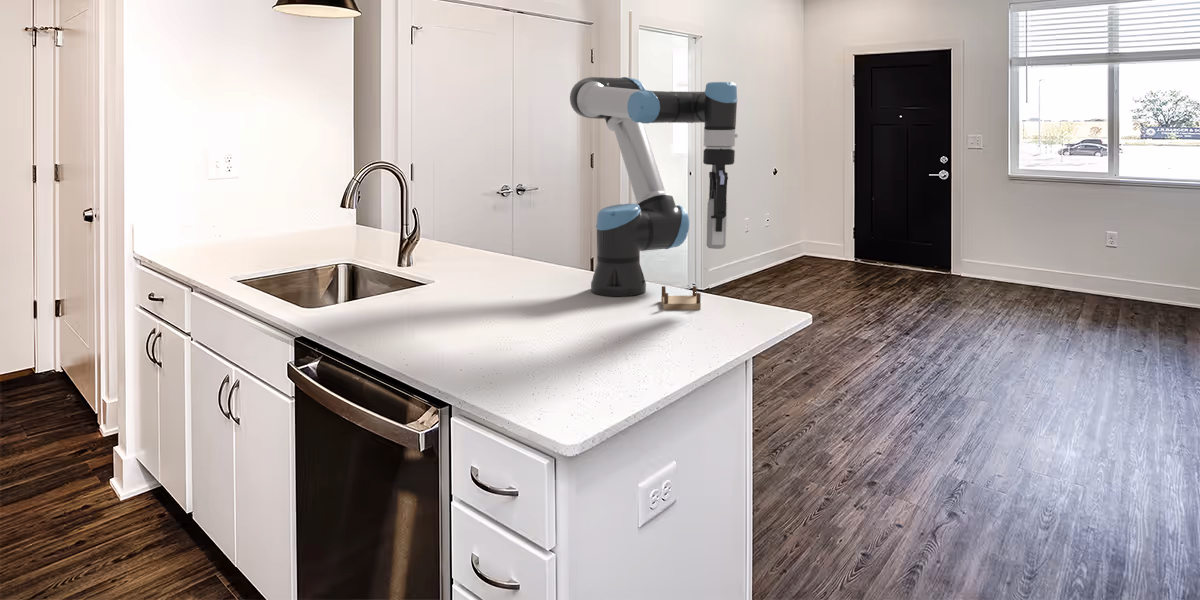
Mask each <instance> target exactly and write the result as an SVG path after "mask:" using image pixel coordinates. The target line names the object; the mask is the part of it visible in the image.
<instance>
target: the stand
mask: <svg viewBox="0 0 1200 600" xmlns="http://www.w3.org/2000/svg"><path fill="white" fill-rule="evenodd" d="M666 287H667V286H665V285H663V286H661V297H660V299H661V300H660V301H661V304H662V307H663V310H666V311H667V310H670V311H671V310H672V311H673V310H674V311H675V310H676V311H677V310H681V311H682V310H686V311H688V310H689V311H691V310H701V295H702V294H701V292H697V291H698V290H697V289H698V287H697V286H696V285H693V286H692V295H669V293H668V292H666V290H667V289H666ZM695 292H696V293H695Z"/></svg>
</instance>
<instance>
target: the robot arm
mask: <svg viewBox="0 0 1200 600" xmlns="http://www.w3.org/2000/svg"><path fill="white" fill-rule="evenodd" d="M737 87H738V86H737V84H736V83H735V82H731V81H713V82H712V81H710V82H707V83H706V85H705V89H704V91H692V90H691V91H671V90H670V91H663V90H661V91H660V90H648V89H647V88H646V87H645V85H644V84H643V82H642V81H640V80H639V79H636V78H632V77H631V78H630V77H628V76H627V77H626V76H625V77H602V76H601V77H597V76H590V77H586V78H582V79H580V80H579V81H577V82H576V83H575V84H574V85H573V86H572V88H571V91H570V94H569V102H570V103H569V104H570V106H571V108H572V109H573V111H574V112H575V114H577V115H579V116H581V117H583V118H586V119H596V120H597V119H599V120H600V119H601V120H602V119H604V120H605V122H606V126H607V129H609V130H610V131H613V132H614V134H615V137H616V141H617V144H618V147H619V149H620V153H621V156H622V160H623V162H624V165H625V170H626V173H627V176H628V178H629V182H630V185H631V189H632V192H633V195H634V198H635V201H636V203H621V204H614V205H609V206H606V207H603V208H601V209H600V210H598V213H597V215H596V225H595V227H596V255H597V256H596V267H595V269H594V273H593V274H592V279H591V282H590V292H591V293H594V294H596V295H599V296H605V297H606V296H607V297H608V296H609V297H628V296H630V297H631V296H636V295H641V294H643V293H646V291H647V282H646V280H645V276H644V272H643V270H642V267H641V263H640V259H641V256H640V255H641V253H640V252H643V251H654V250H655V251H656V250H668V249H669V250H670V249H673V248H677V247H679V246H681V245H682V244H683V243H684V242H685V240H686V239H687V236H688V234H689V230H690V218H689V214H688V211H687V210H686V208H685V207H683V206H682V205H676V202H675V200H674V197H673V195H672V194H670V193H667V192H666V190H665V187H664V183H663V181H662V177H661V174H660V171H659V169H658V165H657V163H656V159H655V157H654V154H653V151H652V147H651V144H650V141H649V137H648V134H647V132H646V128H645V126H644V124H658V123H660V124H661V123H662V124H663V123H668V124H670V123H674V124H675V123H677V124H678V123H680V124H681V123H682V124H684V123H685V124H689V123H691V124H693V123H694V124H695V123H698V124H699V123H704V127H703V128H704V129H703V146H704V147H705V148H704V149H703V158H702V159H703V160H702V163H703V164H704V165H706V166H707V165H710V166H711V167H712V168H711V171H709V173H708V178H709V187H708V188H709V191H708V193H709V194H708V199H714V216H711V218H713V226H712V245H723V239H724V217H726V202H727V201H726V199H727V196H728V195H727V192H728V190H727V189H728V180H729V176H728V174H729V173H728V172H727V171H726V166H729V165H730V166H731V165H734V164H735V157H736V155H735V153H736V150H735V149H734V148H733V147H735V145H736V138H738V134H737V133H736V125H737V108H738V107H737V106H738V105H737V104H738V94H737V93H738V91H737V90H738V89H737Z"/></svg>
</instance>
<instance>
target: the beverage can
mask: <svg viewBox="0 0 1200 600" xmlns="http://www.w3.org/2000/svg"><path fill="white" fill-rule="evenodd" d="M706 209H707V212H706V213H707V214H706V247H707V248H708V249H713V250H716V249H717V250H718V249H724V248H725V247H726V245H727V244H726V242H727V219H728V218H727V216H728V199H727V198H726V217H724V239H723V245H712V226H713V218H711V216H714V199H709V198H708V199H707V208H706Z"/></svg>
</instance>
